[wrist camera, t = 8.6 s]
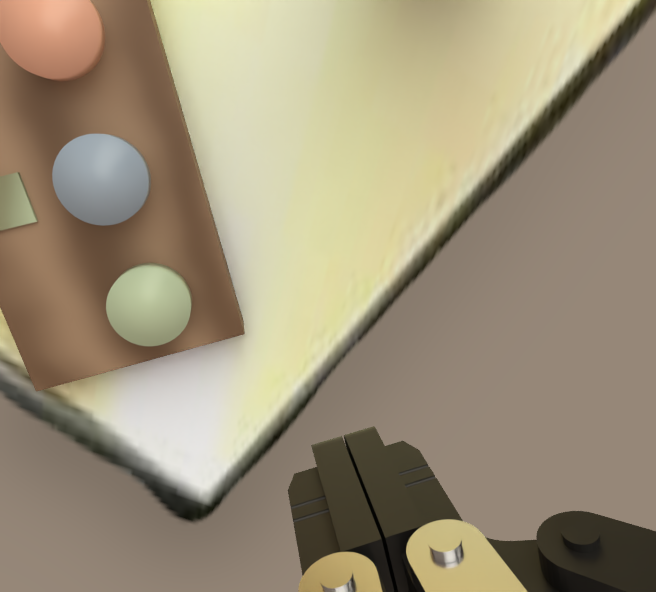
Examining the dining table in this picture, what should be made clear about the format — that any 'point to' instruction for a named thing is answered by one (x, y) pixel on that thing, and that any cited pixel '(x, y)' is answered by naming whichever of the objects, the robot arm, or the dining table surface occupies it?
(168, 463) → the dining table surface
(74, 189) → the button slate
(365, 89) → the dining table surface
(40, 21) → the button terracotta
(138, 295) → the button sage
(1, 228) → the console
